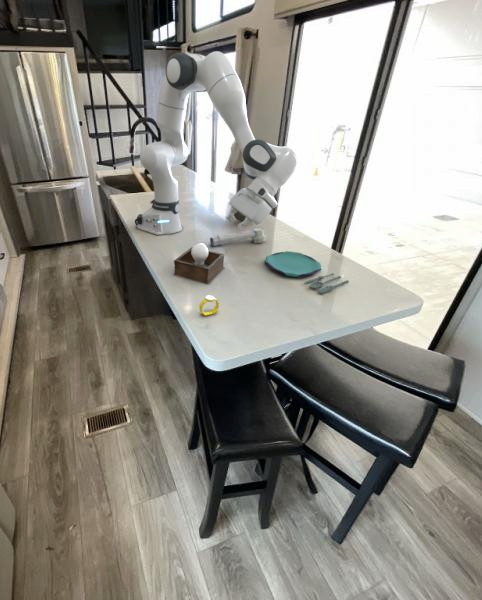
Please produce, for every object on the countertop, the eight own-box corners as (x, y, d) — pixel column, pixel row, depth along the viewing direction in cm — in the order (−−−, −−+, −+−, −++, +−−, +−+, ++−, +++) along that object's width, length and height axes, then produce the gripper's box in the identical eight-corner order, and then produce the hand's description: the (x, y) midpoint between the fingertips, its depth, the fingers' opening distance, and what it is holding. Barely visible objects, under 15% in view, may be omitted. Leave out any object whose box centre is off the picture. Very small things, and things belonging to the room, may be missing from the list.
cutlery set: (293, 252, 134) (294, 247, 133) (353, 284, 112) (354, 278, 111) (255, 262, 126) (256, 256, 125) (312, 298, 104) (313, 292, 103)
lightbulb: (188, 269, 121) (188, 242, 115) (203, 266, 123) (204, 239, 117) (195, 276, 116) (195, 248, 110) (210, 273, 118) (211, 246, 112)
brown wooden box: (174, 274, 117) (173, 260, 114) (191, 260, 127) (192, 246, 124) (207, 284, 112) (208, 269, 108) (223, 268, 122) (224, 254, 119)
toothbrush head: (209, 235, 139) (262, 223, 142) (210, 248, 143) (262, 237, 146) (212, 239, 135) (267, 227, 138) (214, 253, 139) (267, 241, 142)
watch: (201, 318, 94) (202, 302, 91) (197, 313, 96) (198, 297, 93) (219, 314, 96) (220, 297, 93) (215, 309, 99) (216, 293, 95)
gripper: (241, 180, 117) (216, 210, 120) (269, 194, 100) (239, 228, 104) (251, 190, 120) (227, 219, 123) (280, 206, 104) (251, 239, 107)
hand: (233, 224), depth 113 cm, fingers open, 8 cm apart
